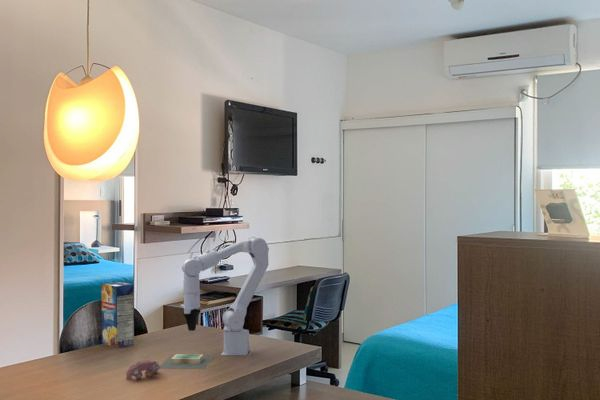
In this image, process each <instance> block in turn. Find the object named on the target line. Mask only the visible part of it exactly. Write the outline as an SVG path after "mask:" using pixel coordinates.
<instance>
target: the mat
mask: <svg viewBox="0 0 600 400" xmlns="http://www.w3.org/2000/svg"><path fill="white" fill-rule="evenodd" d="M174 355H175V354H171V355H169V357H168V358H166V359H165V360H164V361H163V362H162V363H161V364H159V369H161V370H162V369H165V370H169V369H170V370H172V369H176V370H179V369H180V370H184V369H185V370H186V369H187V370H193V369H194V370H205V368H206V367H208V365H209V364H210V362H211V361H212V360H213V359H214V357H215V356H216V354H203V360H202V361H201V363H200V364H176V363H171V358H172V357H173V356H174Z"/></svg>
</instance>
